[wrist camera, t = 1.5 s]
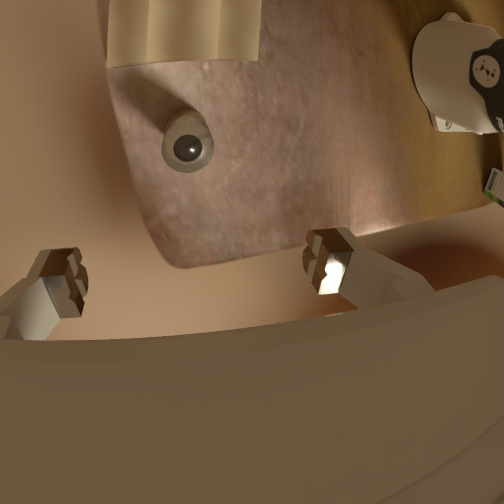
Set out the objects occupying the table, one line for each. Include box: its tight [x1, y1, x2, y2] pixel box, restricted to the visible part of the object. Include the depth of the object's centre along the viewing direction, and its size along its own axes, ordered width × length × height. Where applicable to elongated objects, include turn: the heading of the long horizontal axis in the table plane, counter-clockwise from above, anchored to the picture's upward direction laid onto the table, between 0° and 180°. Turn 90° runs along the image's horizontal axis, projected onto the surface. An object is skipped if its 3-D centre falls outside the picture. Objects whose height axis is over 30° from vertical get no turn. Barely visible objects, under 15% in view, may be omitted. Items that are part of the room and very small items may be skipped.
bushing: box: [162, 109, 214, 173], centre depth 24 cm, size 4×4×8 cm
